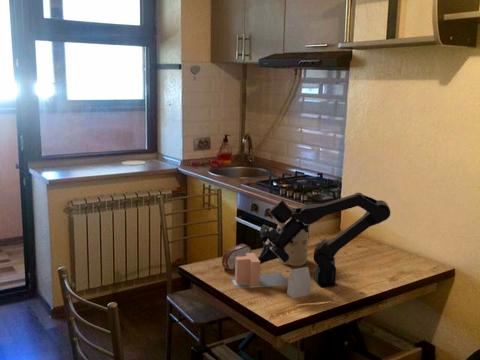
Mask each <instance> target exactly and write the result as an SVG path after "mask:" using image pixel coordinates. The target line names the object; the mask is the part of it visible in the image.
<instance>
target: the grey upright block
mask: <svg viewBox="0 0 480 360" xmlns="http://www.w3.org/2000/svg"><path fill="white" fill-rule="evenodd" d="M309 268H310V267H309V266H306V267H304V266H303V267H300V268H299V267H298V268H294V269H291V271H290V273H289V276H288V279H287V281H288V285H287V291H286V292H287V293H286V294H287V295H288V296H290V297H291V298H292V299H297V298H301V297H306V296H310V295H311V285H312V284H311V281H312V278H311V276H310V269H309Z"/></svg>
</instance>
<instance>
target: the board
mask: <svg viewBox="0 0 480 360" xmlns="http://www.w3.org/2000/svg"><path fill="white" fill-rule="evenodd" d="M229 279H230V281H231V283H232V284H233V286H234V287H235V290H242V289H255V288H267V287H269V288H271V287H279V286H280V287H281V286H288V279H286V277H285V276H284V275H283V273H281V272H279V273H278V272H277V273H263V274H260V283H259V286H251V285H250V284H249V283H242V284H237V283H236V282H235V275H233V276H229Z"/></svg>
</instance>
